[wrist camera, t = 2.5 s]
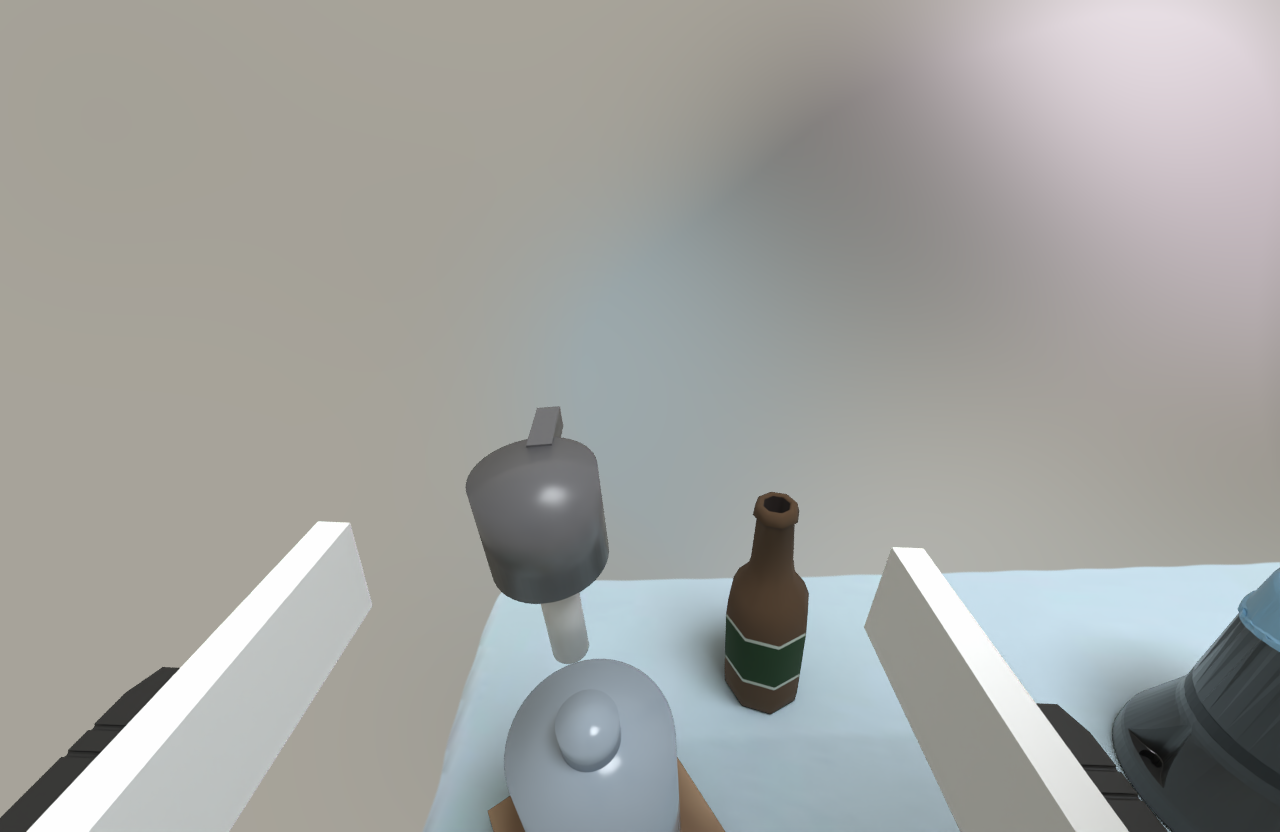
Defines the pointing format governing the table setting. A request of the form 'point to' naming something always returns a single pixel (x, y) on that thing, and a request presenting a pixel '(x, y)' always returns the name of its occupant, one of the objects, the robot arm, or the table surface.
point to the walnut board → (694, 811)
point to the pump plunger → (543, 526)
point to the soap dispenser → (594, 753)
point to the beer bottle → (767, 612)
